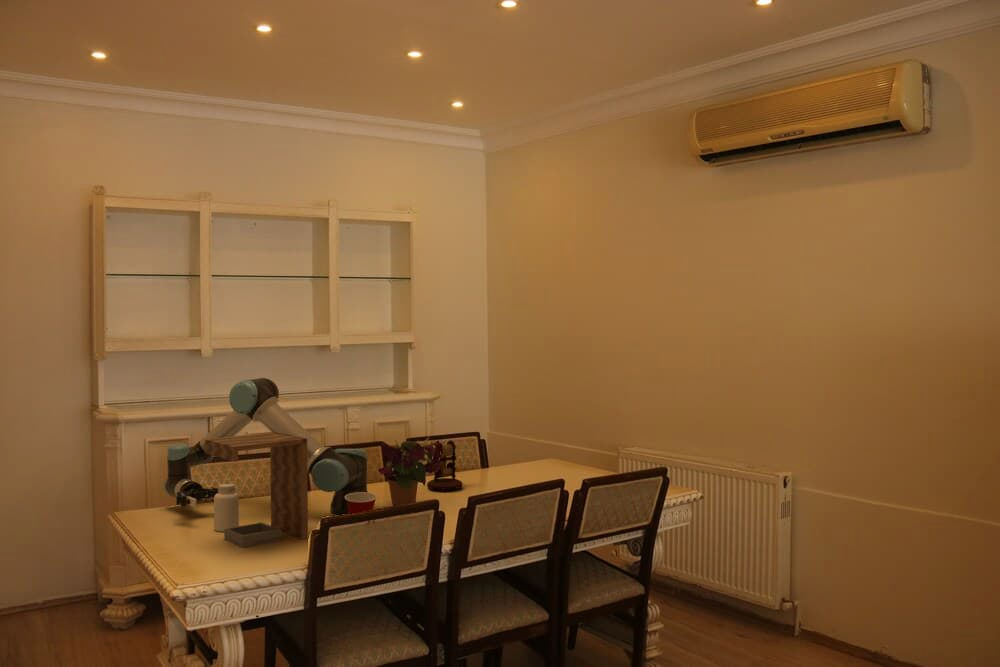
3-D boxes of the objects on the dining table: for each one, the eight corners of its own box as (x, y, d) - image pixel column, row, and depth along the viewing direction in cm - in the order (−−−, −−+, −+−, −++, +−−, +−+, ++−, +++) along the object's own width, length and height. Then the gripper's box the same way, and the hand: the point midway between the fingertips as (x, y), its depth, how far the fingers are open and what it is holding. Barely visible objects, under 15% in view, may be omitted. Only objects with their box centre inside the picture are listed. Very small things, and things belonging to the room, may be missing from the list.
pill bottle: (243, 527, 291) (243, 483, 291) (228, 533, 284) (228, 488, 283) (224, 525, 294) (223, 482, 293) (209, 531, 286) (208, 486, 286)
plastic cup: (350, 536, 279) (350, 500, 278) (340, 529, 288) (340, 494, 288) (381, 532, 284) (381, 496, 283) (371, 525, 293) (371, 490, 293)
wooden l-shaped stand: (205, 539, 275) (204, 439, 274) (276, 526, 292) (275, 432, 291) (235, 553, 260) (234, 446, 259) (307, 538, 277) (307, 438, 276)
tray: (224, 539, 275) (224, 528, 275) (261, 532, 284) (261, 522, 284) (243, 547, 266) (242, 536, 266) (280, 540, 274) (280, 529, 274)
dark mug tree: (447, 484, 365) (447, 437, 365) (469, 489, 354) (469, 441, 354) (419, 488, 355) (419, 441, 355) (442, 494, 344) (441, 445, 344)
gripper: (222, 496, 319) (248, 505, 303) (154, 506, 302) (178, 517, 286) (221, 476, 319) (248, 484, 303) (154, 485, 302) (178, 494, 286)
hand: (214, 500), depth 295 cm, fingers open, 13 cm apart
